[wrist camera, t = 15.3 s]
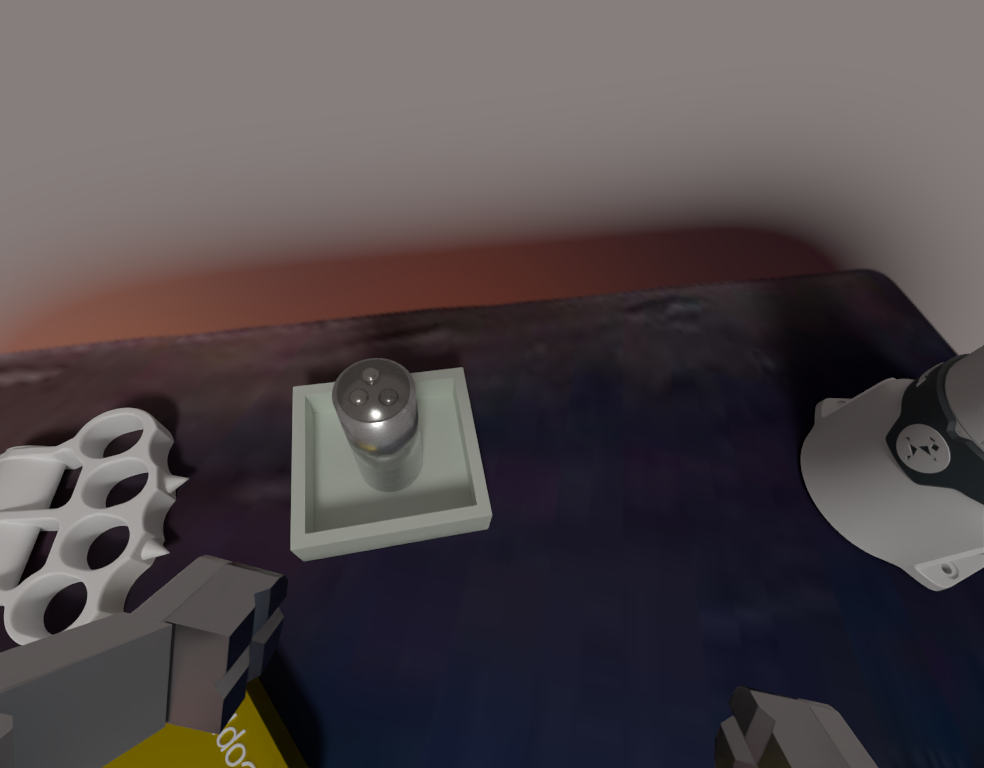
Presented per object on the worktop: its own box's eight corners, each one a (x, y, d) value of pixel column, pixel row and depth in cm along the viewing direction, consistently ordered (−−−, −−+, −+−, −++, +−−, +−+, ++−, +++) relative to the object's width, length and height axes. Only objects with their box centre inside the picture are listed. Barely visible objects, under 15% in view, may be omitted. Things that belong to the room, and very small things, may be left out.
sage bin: (461, 389, 48) (462, 367, 44) (488, 528, 41) (492, 515, 37) (304, 408, 45) (293, 386, 42) (304, 561, 38) (290, 550, 35)
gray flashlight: (418, 429, 44) (409, 346, 33) (426, 486, 41) (419, 415, 31) (357, 439, 43) (327, 356, 32) (361, 497, 40) (330, 428, 30)
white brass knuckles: (39, 427, 42) (214, 422, 44) (-69, 661, 33) (158, 644, 35) (10, 409, 40) (198, 404, 41) (-117, 659, 30) (133, 640, 32)
